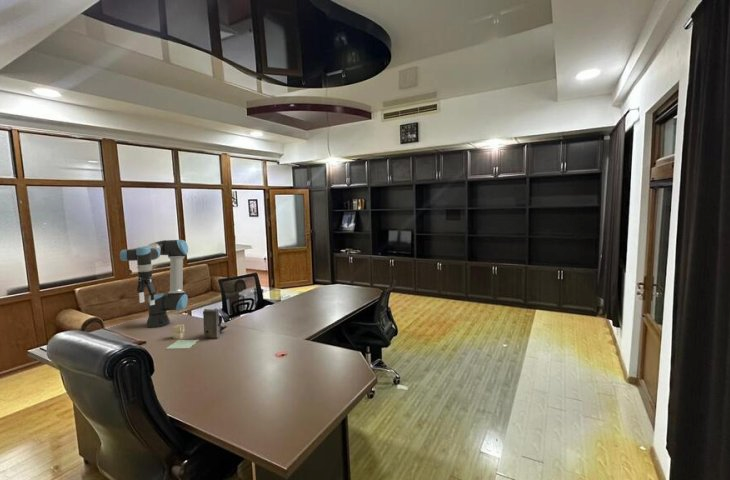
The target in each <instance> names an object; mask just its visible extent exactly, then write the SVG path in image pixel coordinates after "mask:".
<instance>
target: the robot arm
mask: <svg viewBox="0 0 730 480" xmlns="http://www.w3.org/2000/svg"><path fill="white" fill-rule="evenodd" d="M188 253H189V247H188V243H187V241H186V240H183V239H170V240H169V239H168V240H166V239H165V240H160V241H154V242H151V243H149V244H148V245H145V246H140V247H135V248H132V249H127V248H125V249H122V250H120V253H119V258H120V260H121V261H123V262H130V261H131V262H132V261H137V262H136V263H137V267H136V268H137V271H138V272H137V276H138V281H137V288H136V292H138V299H139V300H138V301H139V304H141V303H145V301H146V300H145V288H146V289H147V291H148V297H147V309H148V318H147V321H146V327H147V328H150V329H151V328H152V329H153V328H160V327H165V326H167V325H169V324H171V323H170V322H171V320H170V318H169V315H168V314H167V311H169V312H170V311H171V312H172V311H181V310H184V309H185V308H186V307H187V305H188V300H189V297H188V295H187V294H186V291H184V288H183V287H184V286H183V285H184V284H183V282H184V277H183V275H184V274H183V273H184V270H183V268H184V259H185V258H186V255H188ZM160 256H167V257H168V259H170V260H169V261H170V262H169V263H170V265H169V267H170V268H169V269H170V271H169V291H168V292H167V294H166V293H165V292H164V293H163V292H161V293H157V291H156V287H155V284H154V280H153V278H151V277H153V271H152V269H153V268H152V267H153V265H152V261H155V260H157V259H159V258H160Z"/></svg>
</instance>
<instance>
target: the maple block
mask: <svg viewBox="0 0 730 480" xmlns="http://www.w3.org/2000/svg"><path fill="white" fill-rule="evenodd" d="M185 335H186V334H185V324H176V325H174V326H172V337H173V339H174V340H176V339H177V340H182V339H183V338H184V337H185ZM182 337H183V338H182Z"/></svg>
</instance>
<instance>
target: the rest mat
mask: <svg viewBox="0 0 730 480" xmlns="http://www.w3.org/2000/svg"><path fill="white" fill-rule="evenodd" d="M197 341H198V342H200V339H177V340H176V341H175V342H173V343H172V344H170V345H168V346H167V347H165V350H184V349H185V350H188V349H190V348H191V347H193V346H194V345H195V344H197V343H198V342H197ZM196 342H197V343H196ZM192 345H193V346H192Z"/></svg>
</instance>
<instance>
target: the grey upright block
mask: <svg viewBox="0 0 730 480" xmlns="http://www.w3.org/2000/svg"><path fill="white" fill-rule="evenodd" d="M202 315H203V317H202V318H203V337H204V339H219V338H220V335H221V334H220V332H221V331H222V332H223V331H224V330H225V329H227V328H228V326H227V325H224V326H221V325H222V322H223V316H222V315H220V313H219V309H218V308H213V309H212V308H208V309H207V308H204V309H203V311H202ZM218 337H219V338H218Z"/></svg>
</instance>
